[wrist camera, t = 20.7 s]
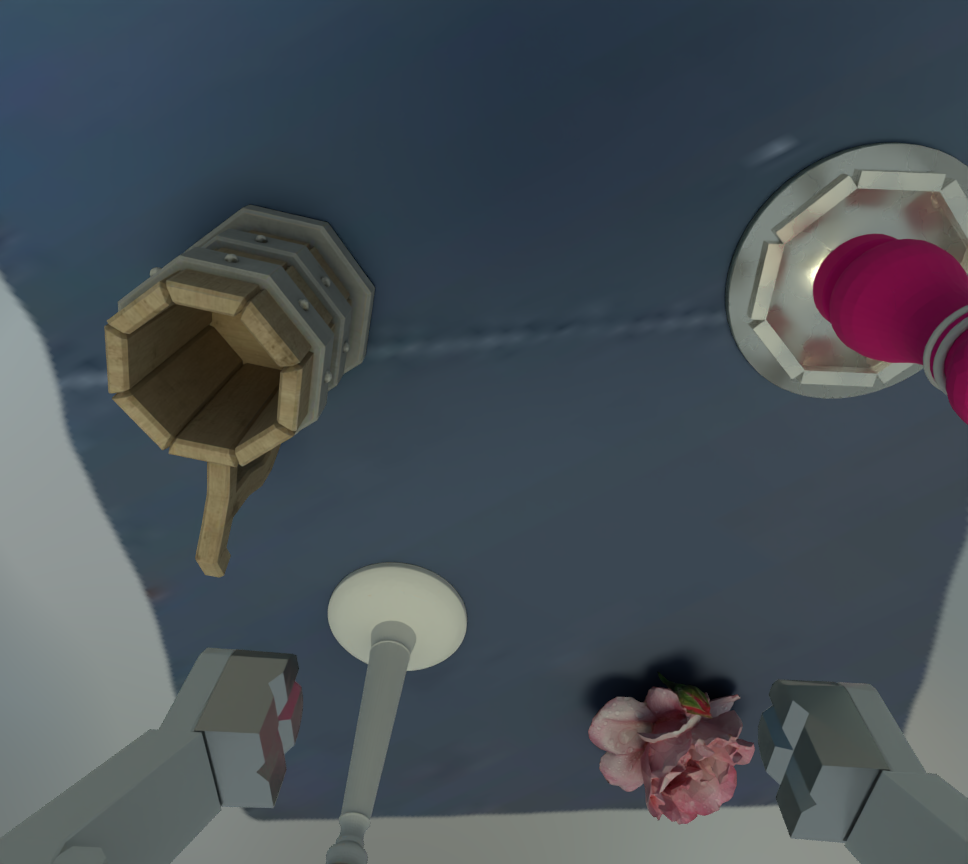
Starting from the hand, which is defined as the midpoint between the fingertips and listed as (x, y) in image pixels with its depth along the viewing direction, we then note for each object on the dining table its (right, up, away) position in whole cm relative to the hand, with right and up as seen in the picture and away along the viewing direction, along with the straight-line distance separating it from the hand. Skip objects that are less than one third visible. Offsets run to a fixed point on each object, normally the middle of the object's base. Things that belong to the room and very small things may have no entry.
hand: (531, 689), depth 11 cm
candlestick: (-9, -13, +50) cm, 52 cm away
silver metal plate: (+24, +15, +33) cm, 44 cm away
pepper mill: (+24, +15, +32) cm, 43 cm away
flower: (+17, -23, +54) cm, 61 cm away
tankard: (-16, +11, +37) cm, 42 cm away
